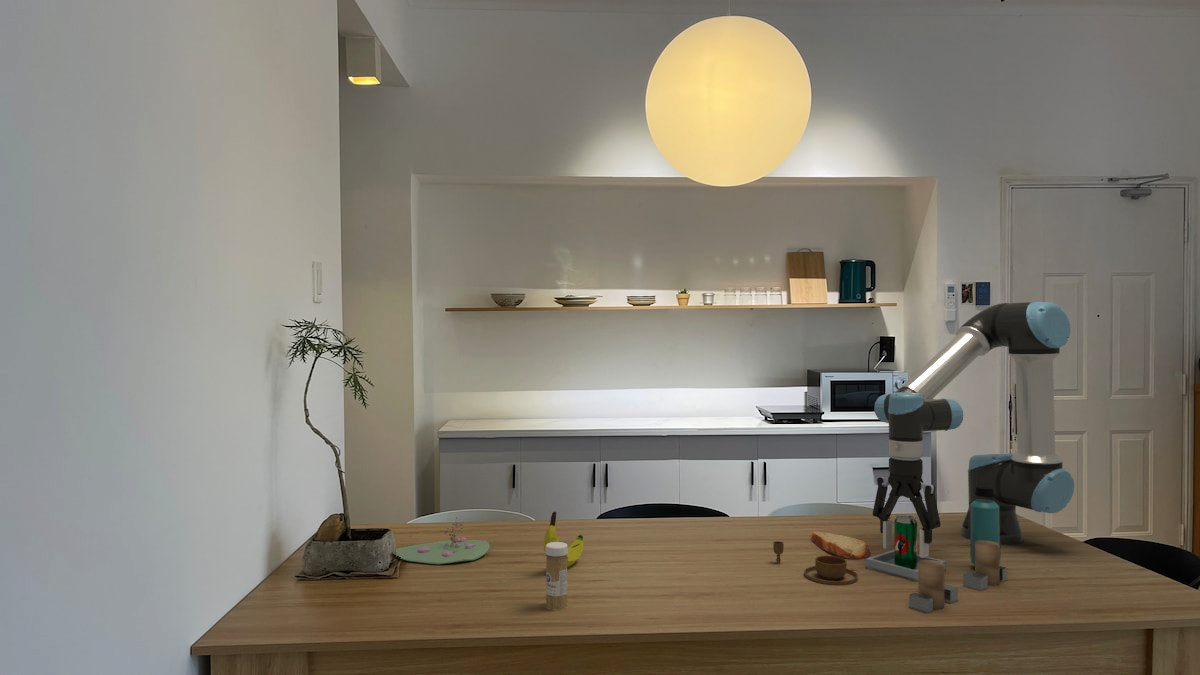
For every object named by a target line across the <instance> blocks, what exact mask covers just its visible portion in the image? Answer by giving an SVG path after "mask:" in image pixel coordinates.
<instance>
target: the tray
mask: <svg viewBox="0 0 1200 675" xmlns="http://www.w3.org/2000/svg"><path fill="white" fill-rule="evenodd" d="M920 560H935V561H939V562H942V563H944V573H945V572H946V571H947V561H946V560H944V559H943V560H942V559H938V558H934V557H931V556H927V557H924V558H921V557H920V554H918V553H917V567H916V568H915V569H909V568H905V567H901V566H898V565H895V564H894V549H891V550H889V551H885V552H882V553H878V554H876V555H873V556H870V557H869V556H868V558H866V559H865V569H867V570H871V571H875V572H879V573H882V574H885V575H889V576H891V577H892V576H893V577H896V578H900V579H904V580H907V581H911V582H914V581H915V582H914V583H918V562H919V561H920Z"/></svg>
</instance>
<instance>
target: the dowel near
mask: <svg viewBox="0 0 1200 675" xmlns="http://www.w3.org/2000/svg"><path fill="white" fill-rule="evenodd" d="M917 583H918V584H917V585H918V586H917V587H918V590H917V593H918V594H921V595H925V596H928V597H932V598H933V610H943V609H944V608H945V602H944V584H945V572H944V563H942V562H939V561H935V560H920V561H919V562H918V582H917Z"/></svg>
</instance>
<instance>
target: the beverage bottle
mask: <svg viewBox="0 0 1200 675" xmlns="http://www.w3.org/2000/svg"><path fill="white" fill-rule="evenodd" d="M975 495H976V496H981V497H994V489H993V488H992V487H989V486H976V489H975ZM970 506H971V535H970V536H971V540H970V539H969V540H970V543H969V546H970V553H969V555H970V557H969V558H970V561H971V564H972V565H974V566H975V541H979V540H985V541H992V542H996V543H998V544H1000V542H1001V540H1000V526H999V505H998V504H997V503H996V502H994V501H992V500H986V499H977V500H975V501H973V502H972V503H971V504H970ZM1000 545H1001V544H1000ZM1001 546H1002V545H1001ZM1001 546H1000V561H1001V559H1002V558H1001V556H1002V554H1001V552H1002V551H1001V550H1002V549H1001V548H1002V547H1001Z"/></svg>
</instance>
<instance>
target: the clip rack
mask: <svg viewBox="0 0 1200 675" xmlns="http://www.w3.org/2000/svg"><path fill="white" fill-rule="evenodd" d="M1007 577H1008V568H1007V567H1006V566H1002V565H1000V582H1001V583H1004V582H1006V581H1007ZM962 586H963V587H965V588H969V589H973V590H977V591H980V592H982V591H984V590H987V589H988V586H989V585H988V575H984V574H980V573H976V572H975V571H971V570H969V571H966V572H964V573H963V574H962ZM908 599H909V600H908V608H909V609H913V610H916V611H919V612H921V613H922V612H923V613H926V614H928V613H929V614H930V613H931V612H933V611H934V609H933V598H932V597H928V596H925V595H921V594H918V592H912V593H909V594H908ZM958 600H959V588H958V586H953V585H950V584H946V583H944V603H948V604H953V603H955V602H958Z"/></svg>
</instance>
